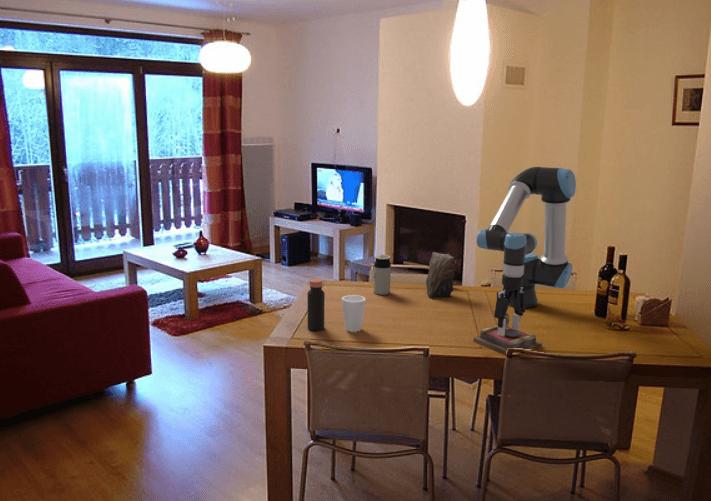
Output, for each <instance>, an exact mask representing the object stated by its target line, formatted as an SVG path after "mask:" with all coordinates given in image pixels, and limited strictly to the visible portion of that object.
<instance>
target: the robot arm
mask: <svg viewBox="0 0 711 501" xmlns="http://www.w3.org/2000/svg"><path fill="white" fill-rule="evenodd" d="M576 182H577V181H576V176H575V173H574V172H573V170H571V169H569V168H563V167H546V166H545V167H543V166H533V167H529V168H526V169H524V170H523V171H522V172H519V174H517V175H516V176H515V177H513V179H512V180H511V181H510V183H509V185H508V189H507V190H508V192H507V193H506V196H505V197H504V199H503V201H502V203H501V204H500V207H498V210H497V211H496V213H495V215H494V217H493V219H492V221H491V222H490V225H488V227H487V229H485V228H484V229H480V230H478V232H477V234H476V239H475V240H476V241H475V242H476V245H477V247H478V248H480V249H483V250H484V249H485V250H489V251H490V250H491V251H499V252H503V264H502V265H503V266H502V275H501V285H503V287H502V291H500V292H499V291H497V292H496V303H495V309H494V314H493V318H496V319H497V325H498V335H501V336H505V324H506V319H504V318H505V315H506V313H508V312H507V311H508V308H509V305H511V306H510V307H513V306H514V307H513V311H514V313H513V314H512V323H511V324H512V325H511V328H512V329H514V330H518V331H520V322H521V318H522V317H523V316H524V313H526V308H525V307H533V306H536V305H537V306H538V298H537V297H538V296H537V292H536V285H539V286H544V287H550V288H554V289H556V288H558V289H564V288H566V287H567V286H568V283H569V281H570V279H571V276H572V272H573V263H571V262H569V258H568V256H566V253H565V250H566V225H567V224H566V222H567V220H566V219H567V204H569V202H570V201H571V199H572V198H573V197H574V196H575V193H576V187H577V183H576ZM531 195H537V196H538V195H539V196H541V199H540V200H541V202H542V203H543V204H544V232H543V233H544V234H543V236H544V238H543V240H544V241H543V242H544V244H543V254H542V255H541V256H540V257H539V255H538V254H537V253H533V251H534V250H536V249H537V246H538V240H537V237H536V236H535V235H534V234H532V233H529V232H527V233H526V232H525V233H523V232H509V231H510V229H511V226H512V224H513V223H514V221H515V219H516V217H517V215H518V214H519V212H520V210H521V208H522V206H523V204H524V202H525V200H527V199H529V198H530V197H531ZM537 306H536V307H537ZM533 308H534V307H533ZM521 316H522V317H521Z"/></svg>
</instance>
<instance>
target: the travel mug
mask: <svg viewBox="0 0 711 501" xmlns="http://www.w3.org/2000/svg"><path fill="white" fill-rule="evenodd" d="M374 259H375V261H374V263H373V289H372V290H373V293H374V294H375V295H381V296H382V295H383V296H385V295H388V294H390V293H391V269H392V268H391V267H392V263H391V261H390V259H391V256H390V255H387V254H377V255H374Z"/></svg>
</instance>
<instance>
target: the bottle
mask: <svg viewBox="0 0 711 501" xmlns="http://www.w3.org/2000/svg"><path fill="white" fill-rule="evenodd" d="M309 288H310V289H309V290H308V291H307V293H306V294H307V329H308V330H309V331H311V330H312V331H313V332H318V331H319V330H320V331H323V330H324V329H325V300H326V299H325V298H326V296H325V291H324V290H323V289H322V288H323V280H322V279H321V278H313V279H309ZM320 331H319V332H320Z"/></svg>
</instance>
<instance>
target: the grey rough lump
mask: <svg viewBox="0 0 711 501" xmlns="http://www.w3.org/2000/svg"><path fill="white" fill-rule="evenodd" d="M455 260H456V257H455V256H453V255H451V254H450V253H446V254H445V253H439V252H435V251H432V253H431V258H430V260H429V263H428V265H429V266H428V273H427V278H426V279H425V280H426V282H425V283H426V284H425V285H426V293H427V297H428V299H430V300H431V299H444V298H452V293H453V292H454V282H453V281H454V278H455V276H456V272H455V268H456V266H455Z"/></svg>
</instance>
